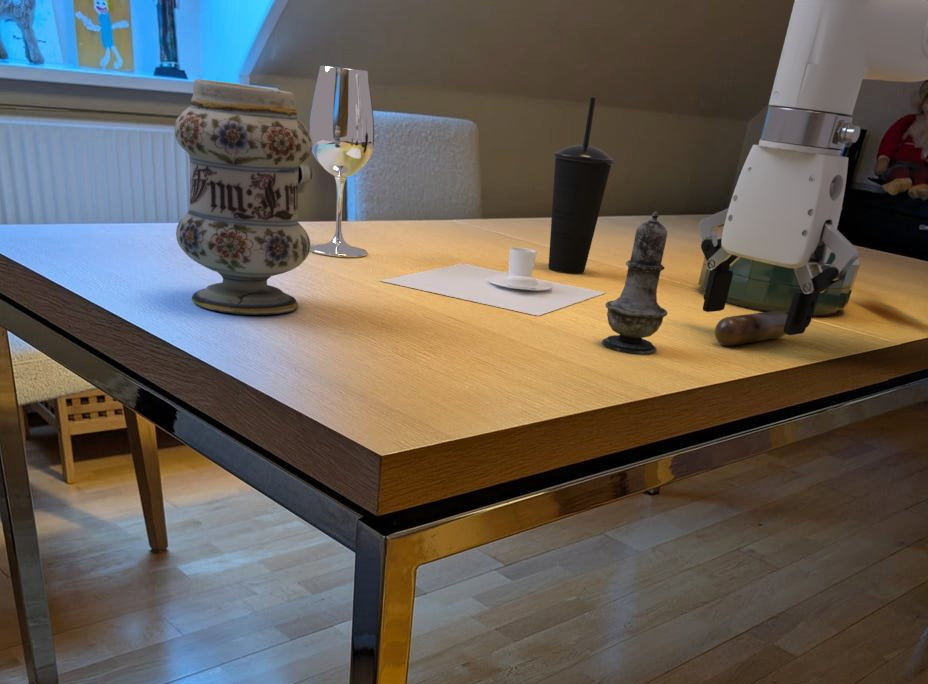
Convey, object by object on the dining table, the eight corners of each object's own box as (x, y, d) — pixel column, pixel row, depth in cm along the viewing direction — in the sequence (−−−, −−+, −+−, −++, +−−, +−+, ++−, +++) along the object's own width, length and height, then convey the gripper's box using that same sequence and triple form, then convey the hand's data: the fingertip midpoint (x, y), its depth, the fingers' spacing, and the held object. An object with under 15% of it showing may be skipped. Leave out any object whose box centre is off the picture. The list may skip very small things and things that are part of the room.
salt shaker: (586, 342, 87) (610, 205, 81) (620, 335, 91) (645, 204, 85) (638, 357, 84) (667, 216, 78) (670, 350, 88) (701, 215, 82)
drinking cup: (535, 271, 119) (560, 93, 108) (540, 262, 125) (563, 93, 115) (593, 278, 118) (624, 101, 108) (595, 269, 124) (624, 101, 114)
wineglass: (376, 252, 119) (385, 73, 108) (357, 260, 112) (366, 70, 102) (319, 243, 120) (323, 65, 109) (297, 251, 113) (300, 63, 103)
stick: (767, 332, 99) (776, 306, 98) (789, 341, 98) (799, 314, 96) (705, 341, 92) (714, 313, 91) (727, 351, 91) (737, 323, 89)
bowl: (815, 293, 126) (829, 247, 123) (866, 324, 110) (884, 271, 107) (683, 279, 125) (694, 232, 122) (716, 307, 109) (729, 254, 106)
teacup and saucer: (532, 298, 103) (538, 259, 101) (471, 285, 106) (475, 247, 104) (563, 289, 110) (568, 252, 107) (504, 276, 112) (508, 241, 110)
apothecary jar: (334, 313, 87) (342, 95, 78) (227, 324, 80) (220, 84, 70) (261, 286, 94) (259, 83, 85) (155, 294, 86) (141, 72, 77)
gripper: (909, 147, 82) (846, 340, 91) (746, 126, 93) (703, 300, 101) (871, 143, 78) (808, 346, 86) (703, 121, 88) (663, 304, 97)
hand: (751, 321), depth 94 cm, fingers open, 9 cm apart
